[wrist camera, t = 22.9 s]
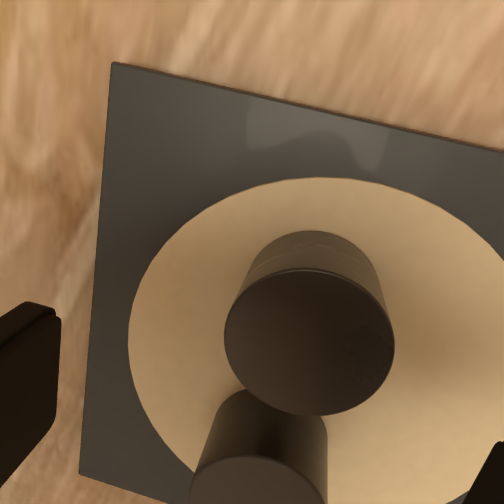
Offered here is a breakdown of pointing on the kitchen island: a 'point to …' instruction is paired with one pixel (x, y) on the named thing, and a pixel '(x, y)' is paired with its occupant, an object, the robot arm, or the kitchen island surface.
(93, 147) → the kitchen island surface
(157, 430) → the face board
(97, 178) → the kitchen island surface
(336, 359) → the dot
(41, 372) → the robot arm
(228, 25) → the kitchen island surface
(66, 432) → the kitchen island surface
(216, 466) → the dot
